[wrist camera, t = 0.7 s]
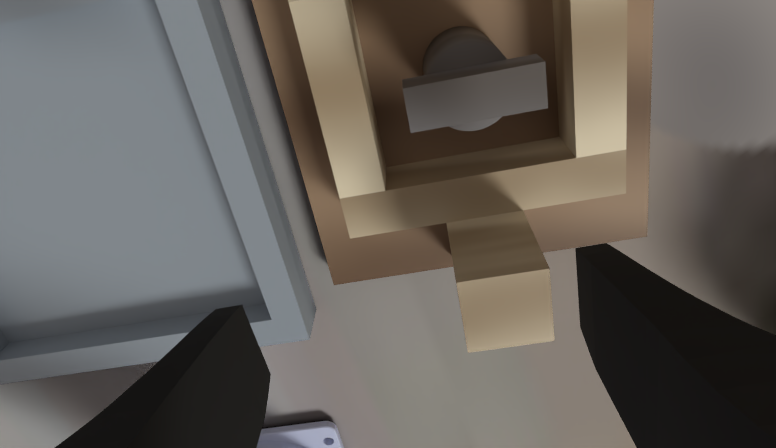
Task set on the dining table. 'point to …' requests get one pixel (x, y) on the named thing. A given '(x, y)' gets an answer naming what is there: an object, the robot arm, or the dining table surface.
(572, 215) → the base
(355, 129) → the tan frame with tab
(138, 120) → the slate tray
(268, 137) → the dining table surface
